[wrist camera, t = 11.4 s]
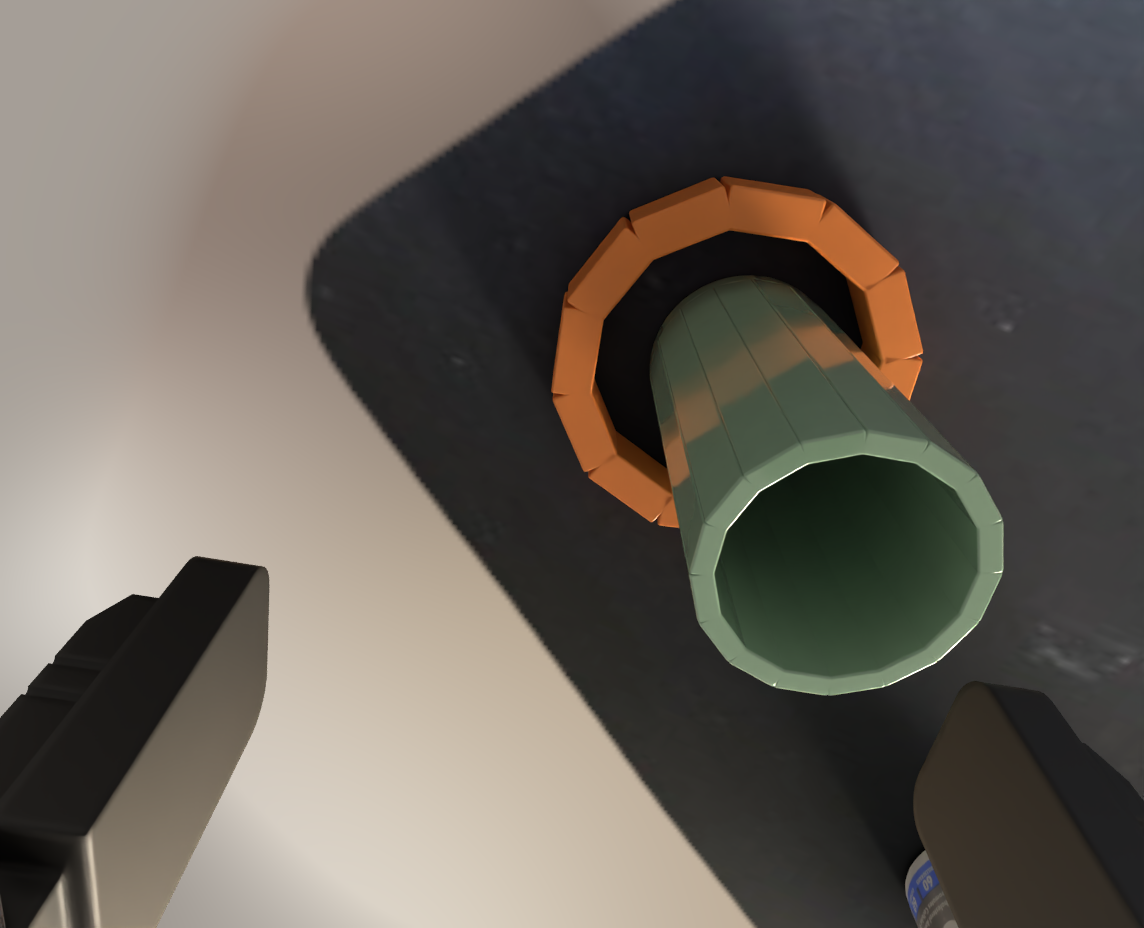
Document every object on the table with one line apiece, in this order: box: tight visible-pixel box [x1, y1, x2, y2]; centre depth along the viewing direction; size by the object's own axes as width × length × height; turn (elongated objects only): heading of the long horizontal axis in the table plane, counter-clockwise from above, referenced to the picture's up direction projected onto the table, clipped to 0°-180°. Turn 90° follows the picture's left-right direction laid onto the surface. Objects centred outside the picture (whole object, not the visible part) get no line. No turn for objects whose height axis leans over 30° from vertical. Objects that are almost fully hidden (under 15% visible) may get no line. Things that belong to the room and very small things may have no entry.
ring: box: [551, 176, 923, 528], centre depth 21 cm, size 9×9×2 cm
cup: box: [649, 275, 1003, 695], centre depth 18 cm, size 5×5×10 cm
